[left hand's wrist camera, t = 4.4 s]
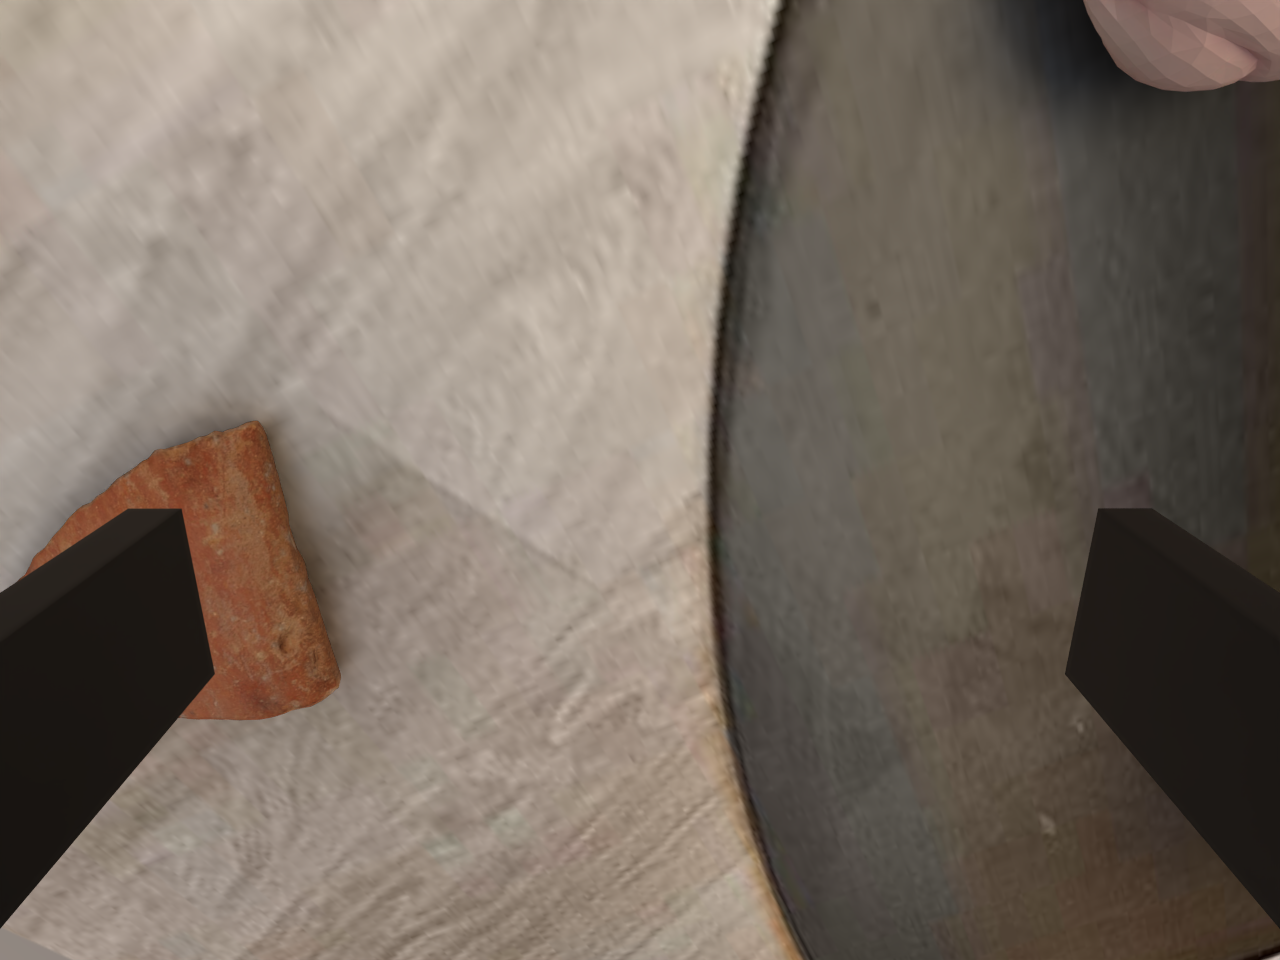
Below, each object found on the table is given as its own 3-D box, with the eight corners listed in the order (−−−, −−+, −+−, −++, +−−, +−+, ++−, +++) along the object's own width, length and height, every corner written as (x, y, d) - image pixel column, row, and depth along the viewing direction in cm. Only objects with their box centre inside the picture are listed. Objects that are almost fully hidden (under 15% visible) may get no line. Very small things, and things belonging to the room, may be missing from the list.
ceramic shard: (-111, 483, 36) (252, 425, 37) (-15, 457, 42) (292, 408, 43) (-3, 791, 39) (328, 727, 40) (71, 725, 45) (355, 671, 46)
